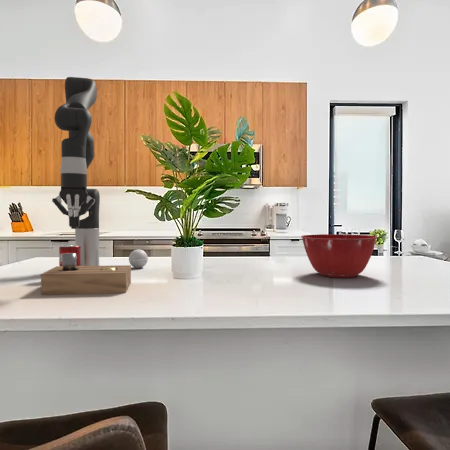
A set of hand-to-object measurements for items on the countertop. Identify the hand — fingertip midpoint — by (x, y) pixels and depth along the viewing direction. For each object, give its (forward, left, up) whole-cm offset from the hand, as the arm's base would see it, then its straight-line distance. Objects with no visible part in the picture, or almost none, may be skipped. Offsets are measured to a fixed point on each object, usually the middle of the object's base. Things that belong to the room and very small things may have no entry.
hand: (74, 228), depth 122 cm
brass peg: (0, +11, -19) cm, 21 cm away
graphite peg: (0, -1, -14) cm, 14 cm away
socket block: (0, +5, -19) cm, 19 cm away
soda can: (-18, -5, -19) cm, 27 cm away
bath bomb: (-43, +17, -19) cm, 50 cm away
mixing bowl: (-16, +95, -19) cm, 98 cm away
